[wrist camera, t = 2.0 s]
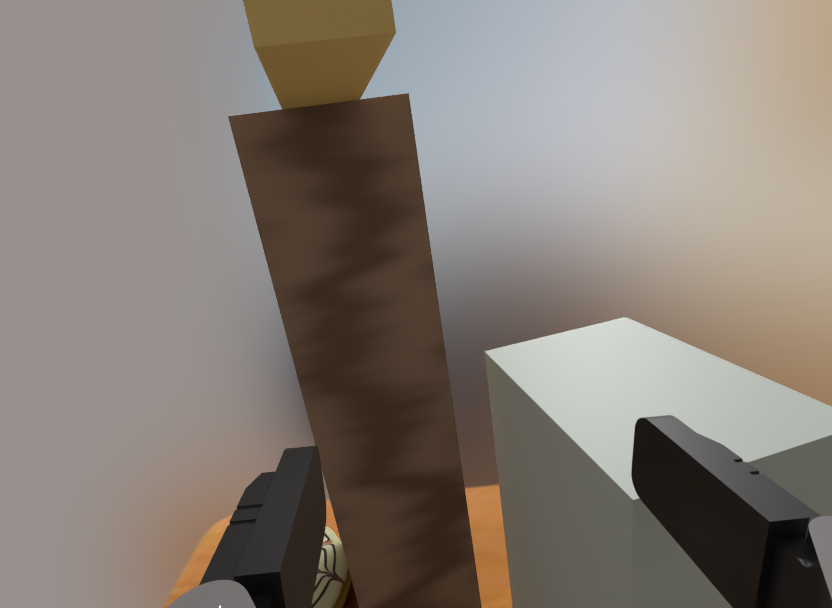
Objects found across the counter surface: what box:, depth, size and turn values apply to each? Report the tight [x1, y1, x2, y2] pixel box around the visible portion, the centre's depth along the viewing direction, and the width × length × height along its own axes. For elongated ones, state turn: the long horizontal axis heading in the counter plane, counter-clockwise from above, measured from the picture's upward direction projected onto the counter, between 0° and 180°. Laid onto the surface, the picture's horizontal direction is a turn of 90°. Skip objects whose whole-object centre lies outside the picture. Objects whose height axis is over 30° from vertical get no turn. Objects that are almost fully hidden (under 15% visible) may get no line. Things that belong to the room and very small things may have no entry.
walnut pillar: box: [228, 94, 481, 608], centre depth 27 cm, size 7×12×34 cm, turn 13°
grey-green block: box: [485, 317, 832, 608], centre depth 20 cm, size 8×10×22 cm
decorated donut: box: [311, 526, 351, 608], centre depth 33 cm, size 10×11×4 cm
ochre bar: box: [243, 0, 396, 110], centre depth 18 cm, size 3×20×3 cm, turn 13°
